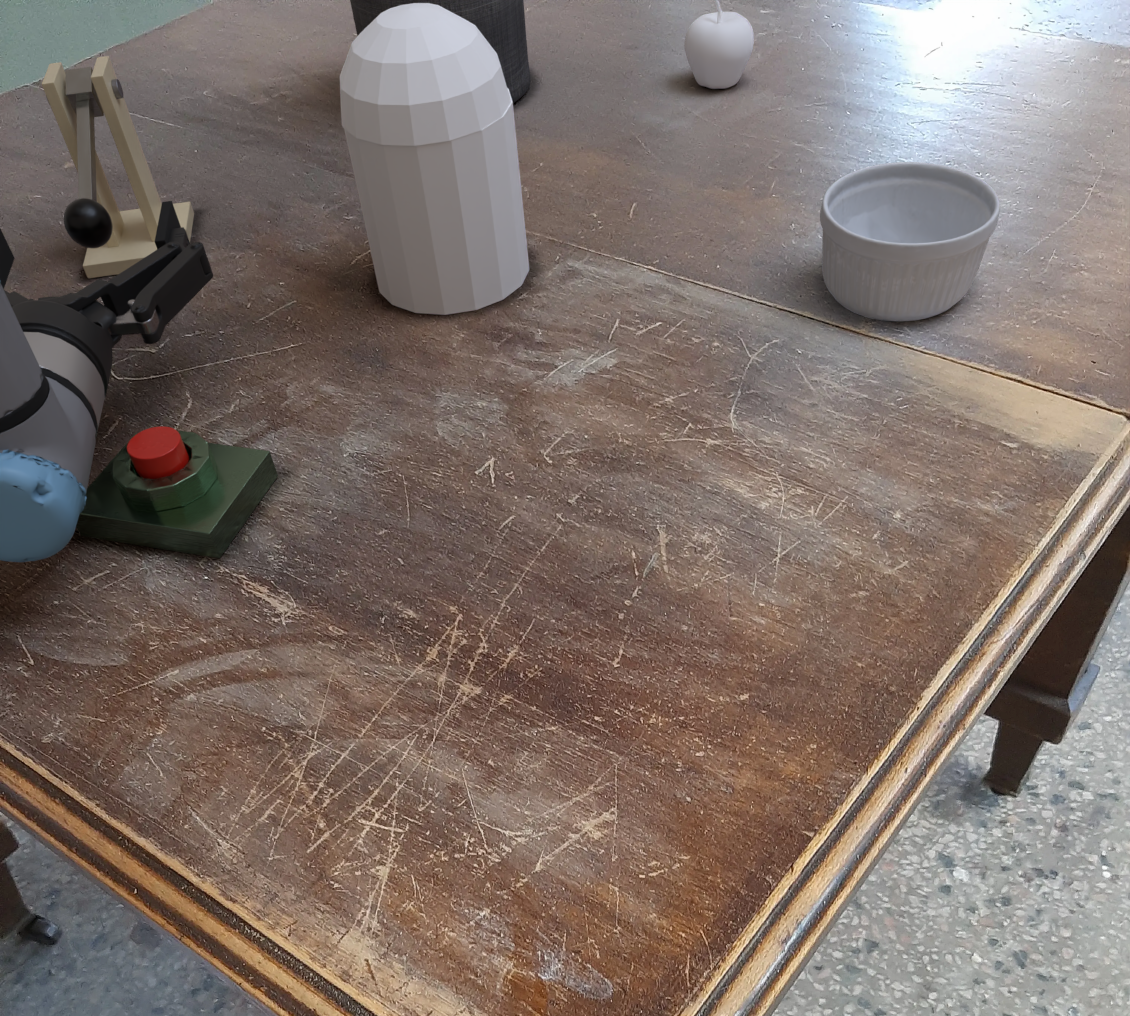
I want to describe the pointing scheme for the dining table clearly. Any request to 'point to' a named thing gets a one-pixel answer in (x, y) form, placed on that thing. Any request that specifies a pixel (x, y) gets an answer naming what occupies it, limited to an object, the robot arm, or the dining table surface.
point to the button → (157, 452)
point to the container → (434, 161)
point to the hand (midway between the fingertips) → (87, 229)
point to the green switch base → (179, 499)
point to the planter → (496, 15)
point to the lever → (86, 165)
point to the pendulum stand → (129, 226)
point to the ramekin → (905, 238)
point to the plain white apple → (719, 48)
